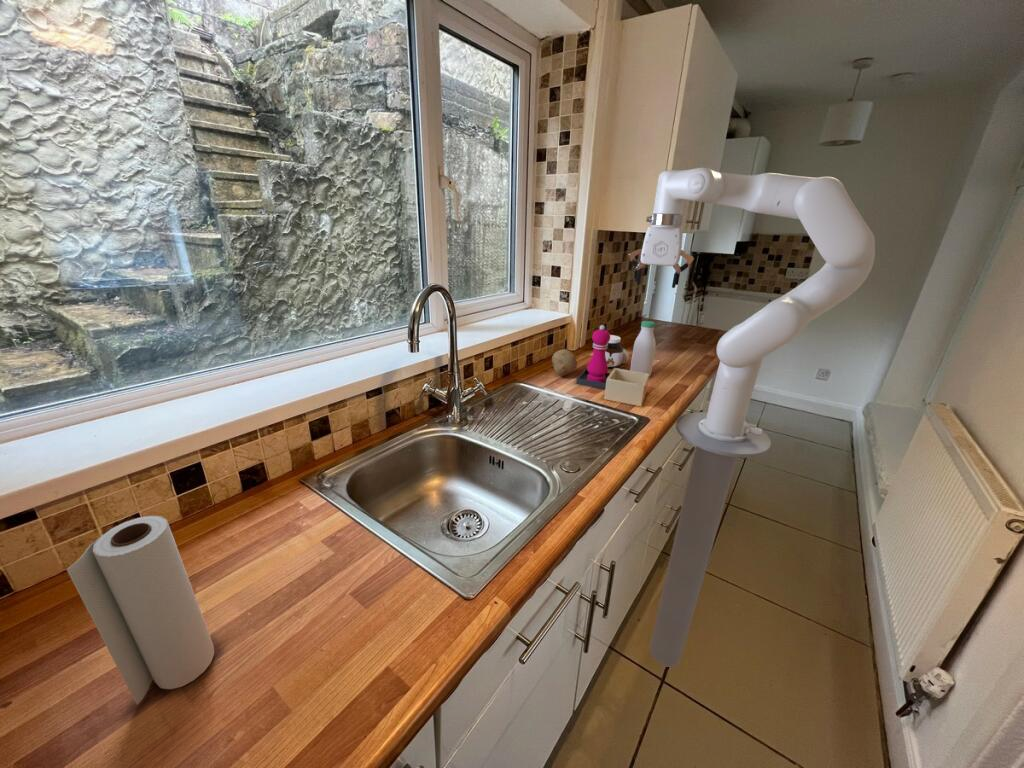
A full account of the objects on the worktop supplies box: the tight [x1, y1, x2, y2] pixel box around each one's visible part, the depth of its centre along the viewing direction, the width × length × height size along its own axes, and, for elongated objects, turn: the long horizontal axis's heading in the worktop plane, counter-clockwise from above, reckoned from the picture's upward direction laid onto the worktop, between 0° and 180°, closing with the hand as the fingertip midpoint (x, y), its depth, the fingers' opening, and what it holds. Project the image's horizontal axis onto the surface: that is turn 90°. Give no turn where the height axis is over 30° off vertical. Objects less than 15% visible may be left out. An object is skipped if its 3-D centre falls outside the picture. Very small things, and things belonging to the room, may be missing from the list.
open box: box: [603, 367, 651, 407], centre depth 132 cm, size 12×12×7 cm
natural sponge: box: [551, 348, 578, 377], centre depth 147 cm, size 9×9×10 cm
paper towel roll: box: [65, 515, 215, 705], centre depth 47 cm, size 7×6×21 cm
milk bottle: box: [629, 320, 657, 377], centre depth 149 cm, size 8×8×20 cm
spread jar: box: [605, 334, 630, 370], centre depth 159 cm, size 12×11×12 cm
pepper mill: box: [586, 324, 611, 383], centre depth 141 cm, size 7×7×20 cm
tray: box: [576, 368, 611, 390], centre depth 144 cm, size 11×11×2 cm
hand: (655, 285), depth 117 cm, fingers open, 9 cm apart
